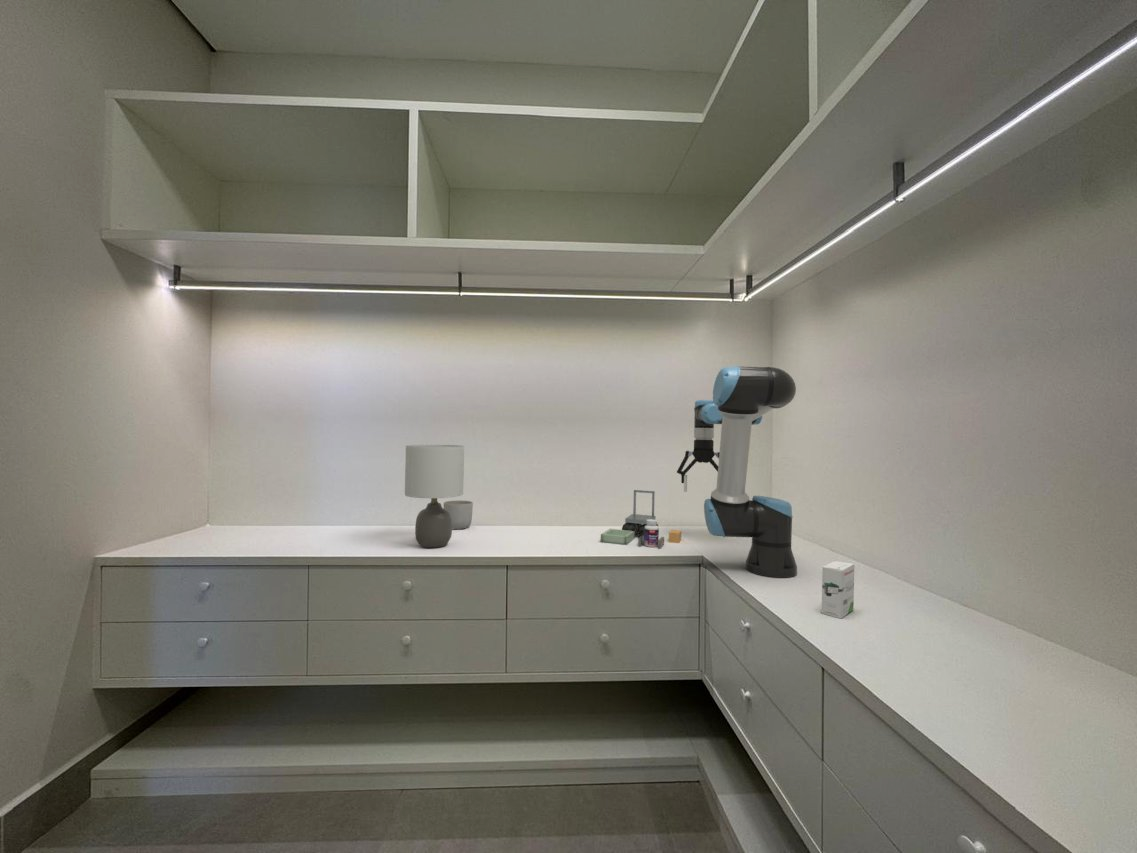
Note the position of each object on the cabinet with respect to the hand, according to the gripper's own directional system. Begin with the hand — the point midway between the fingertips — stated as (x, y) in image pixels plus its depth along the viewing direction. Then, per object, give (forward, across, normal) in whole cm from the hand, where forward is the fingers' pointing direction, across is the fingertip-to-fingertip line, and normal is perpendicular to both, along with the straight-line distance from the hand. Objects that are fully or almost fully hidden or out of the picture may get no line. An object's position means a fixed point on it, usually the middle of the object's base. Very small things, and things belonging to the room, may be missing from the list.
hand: (702, 492), depth 198 cm
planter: (+20, +100, +22) cm, 104 cm away
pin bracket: (+20, +17, +15) cm, 30 cm away
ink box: (+20, -42, +63) cm, 78 cm away
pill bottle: (+20, +17, +15) cm, 30 cm away
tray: (+20, +31, +13) cm, 39 cm away
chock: (+20, +10, +3) cm, 22 cm away
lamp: (+20, +88, +53) cm, 105 cm away
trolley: (+20, +25, 0) cm, 32 cm away
